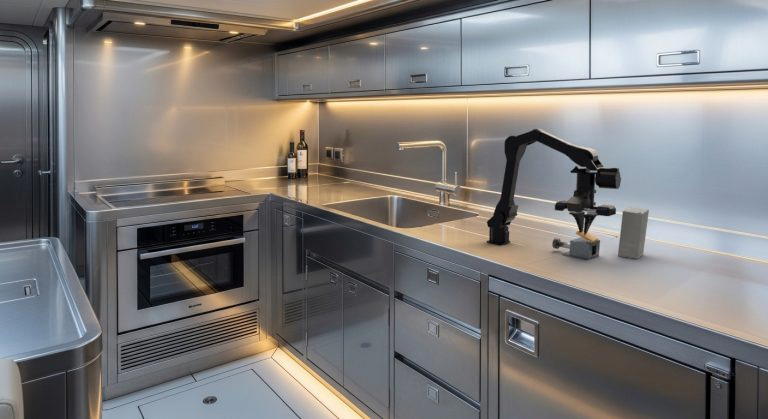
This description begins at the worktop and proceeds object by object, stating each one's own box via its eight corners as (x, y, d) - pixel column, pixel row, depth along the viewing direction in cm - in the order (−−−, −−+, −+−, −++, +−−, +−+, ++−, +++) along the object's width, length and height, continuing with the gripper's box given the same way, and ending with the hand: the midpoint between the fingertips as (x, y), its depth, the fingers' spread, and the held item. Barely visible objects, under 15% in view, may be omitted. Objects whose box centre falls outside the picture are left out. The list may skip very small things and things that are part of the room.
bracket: (562, 255, 180) (563, 236, 179) (573, 250, 185) (574, 233, 184) (588, 260, 174) (589, 241, 173) (599, 255, 179) (600, 237, 178)
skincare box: (623, 251, 185) (627, 206, 182) (646, 254, 180) (650, 208, 177) (616, 256, 178) (620, 209, 175) (639, 259, 174) (643, 212, 171)
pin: (552, 249, 185) (552, 238, 184) (557, 247, 187) (557, 237, 187) (583, 255, 177) (584, 244, 176) (588, 253, 179) (589, 242, 179)
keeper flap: (575, 233, 178) (576, 231, 177) (581, 231, 181) (582, 229, 180) (591, 242, 174) (592, 240, 174) (597, 240, 177) (598, 238, 177)
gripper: (547, 187, 177) (545, 233, 179) (602, 192, 163) (599, 241, 166) (563, 184, 184) (561, 228, 187) (617, 188, 171) (615, 236, 173)
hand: (583, 233), depth 178 cm, fingers closed, pressing on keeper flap
